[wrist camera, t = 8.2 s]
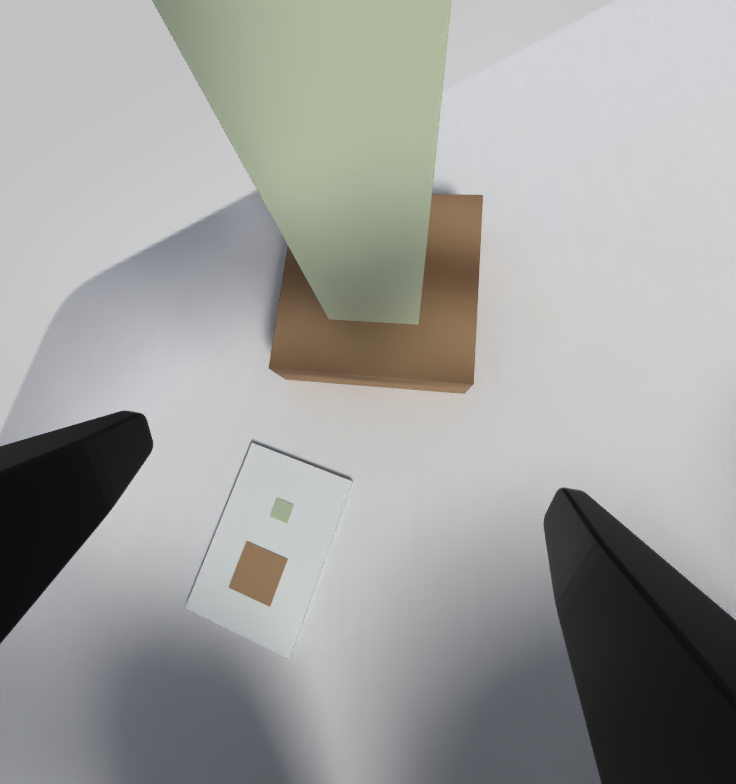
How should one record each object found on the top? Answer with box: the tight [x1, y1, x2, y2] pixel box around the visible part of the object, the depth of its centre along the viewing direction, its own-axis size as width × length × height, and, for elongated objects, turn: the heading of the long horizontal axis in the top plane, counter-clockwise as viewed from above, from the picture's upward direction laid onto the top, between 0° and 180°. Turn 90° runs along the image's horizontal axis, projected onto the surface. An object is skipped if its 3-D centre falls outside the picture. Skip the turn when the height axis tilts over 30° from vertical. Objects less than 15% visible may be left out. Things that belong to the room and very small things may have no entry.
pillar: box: [152, 0, 452, 325], centre depth 11 cm, size 4×4×13 cm
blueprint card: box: [185, 443, 353, 659], centre depth 18 cm, size 9×6×1 cm, turn 160°
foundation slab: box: [269, 194, 483, 394], centre depth 19 cm, size 10×10×2 cm
